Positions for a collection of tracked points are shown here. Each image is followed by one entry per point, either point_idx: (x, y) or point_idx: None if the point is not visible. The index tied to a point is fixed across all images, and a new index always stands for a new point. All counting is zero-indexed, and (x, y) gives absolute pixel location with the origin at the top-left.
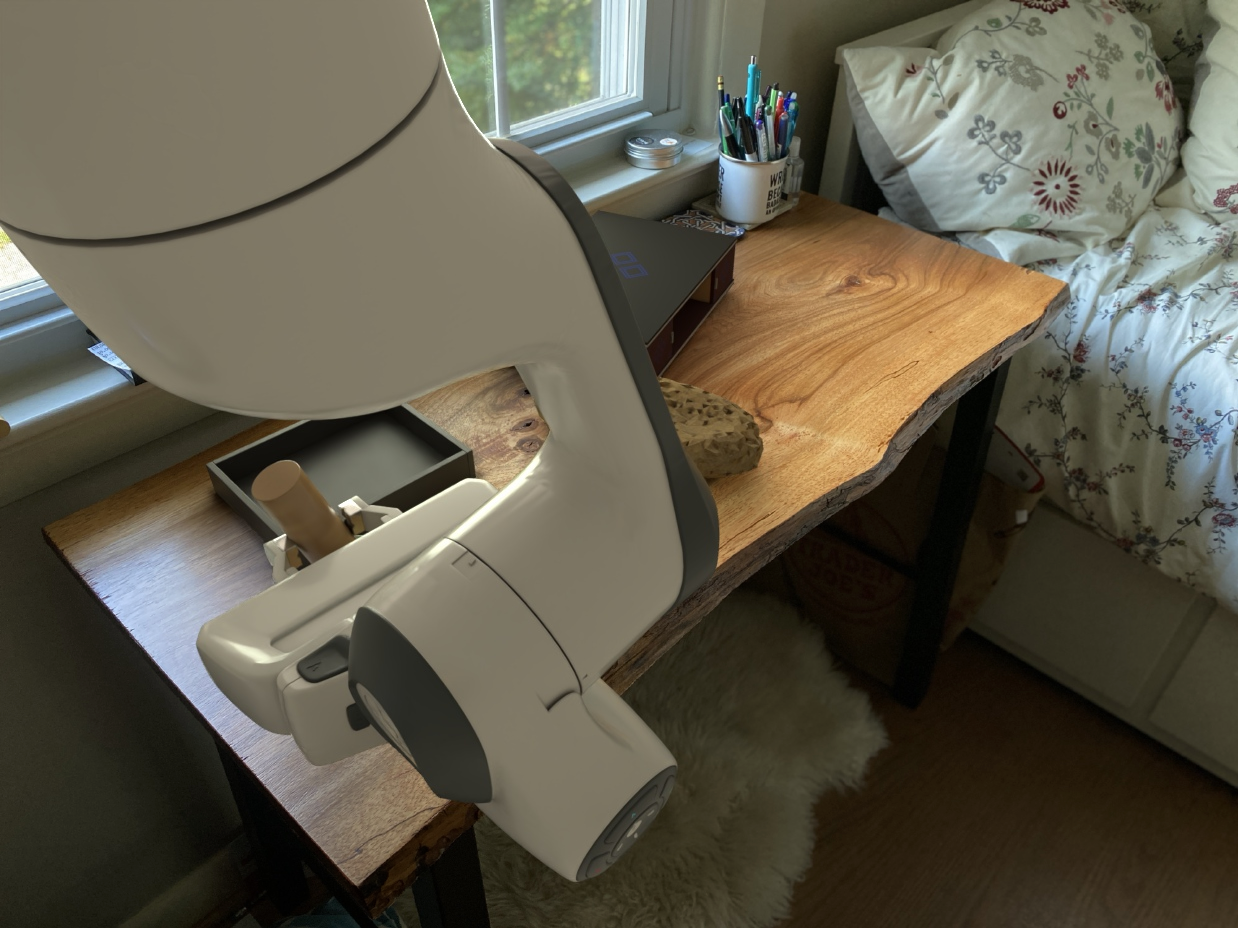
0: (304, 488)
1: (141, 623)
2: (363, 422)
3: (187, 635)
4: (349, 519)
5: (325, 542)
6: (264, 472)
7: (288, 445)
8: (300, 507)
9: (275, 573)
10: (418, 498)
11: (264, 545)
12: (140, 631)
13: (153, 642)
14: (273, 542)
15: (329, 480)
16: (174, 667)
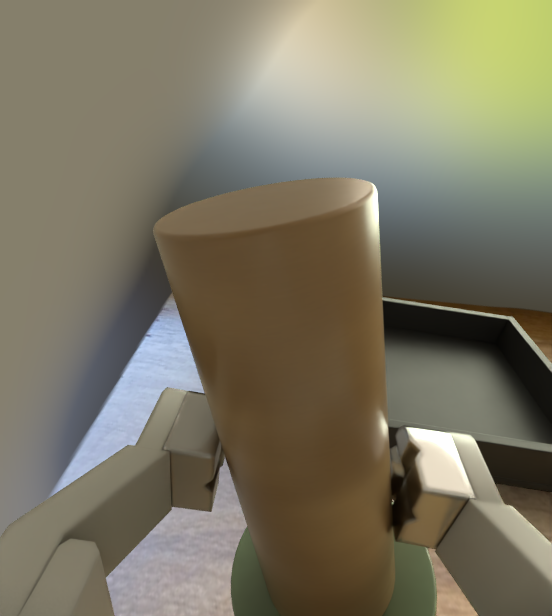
0: (330, 281)
1: (133, 377)
2: (469, 341)
3: (140, 423)
4: (414, 495)
5: (291, 522)
6: (265, 185)
7: (387, 316)
8: (264, 350)
9: (33, 519)
10: (505, 471)
11: (163, 392)
12: (122, 383)
13: (114, 403)
14: (183, 401)
15: (403, 370)
16: (86, 450)
